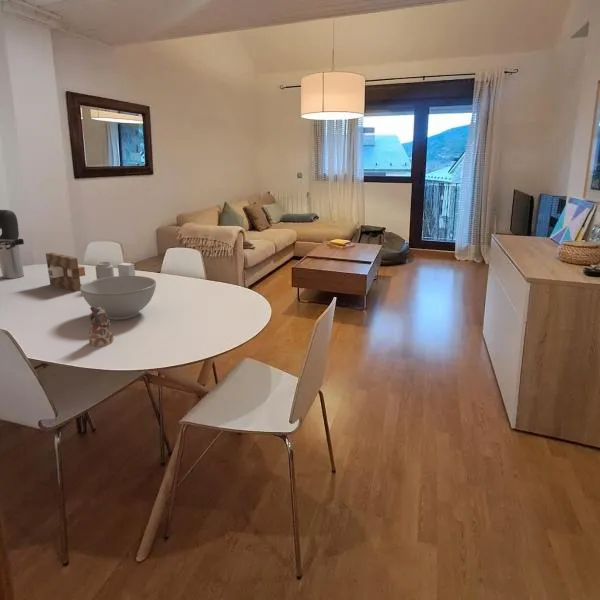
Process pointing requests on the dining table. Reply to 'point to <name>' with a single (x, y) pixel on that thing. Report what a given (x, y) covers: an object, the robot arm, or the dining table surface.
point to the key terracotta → (81, 271)
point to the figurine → (99, 328)
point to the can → (104, 270)
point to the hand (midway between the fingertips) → (22, 241)
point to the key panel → (64, 271)
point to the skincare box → (126, 269)
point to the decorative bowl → (119, 295)
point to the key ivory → (55, 271)
